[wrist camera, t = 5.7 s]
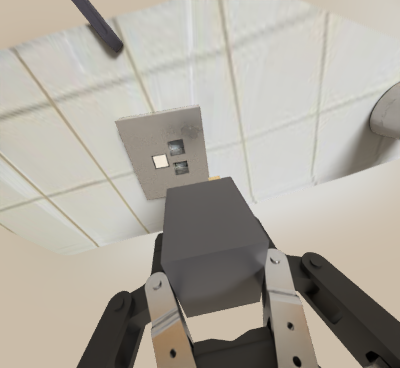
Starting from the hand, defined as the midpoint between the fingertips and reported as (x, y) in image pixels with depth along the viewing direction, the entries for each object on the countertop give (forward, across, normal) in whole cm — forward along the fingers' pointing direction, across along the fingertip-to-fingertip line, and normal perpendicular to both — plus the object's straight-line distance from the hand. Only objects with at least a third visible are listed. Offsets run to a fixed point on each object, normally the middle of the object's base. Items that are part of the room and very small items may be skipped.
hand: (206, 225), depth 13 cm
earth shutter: (+16, +5, 0) cm, 17 cm away
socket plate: (+18, +3, 0) cm, 19 cm away
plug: (+3, 0, 0) cm, 3 cm away
